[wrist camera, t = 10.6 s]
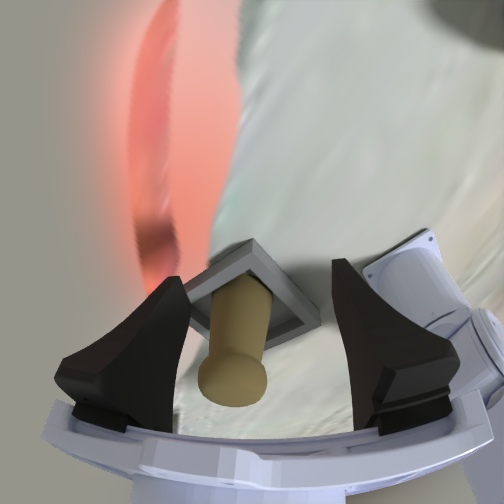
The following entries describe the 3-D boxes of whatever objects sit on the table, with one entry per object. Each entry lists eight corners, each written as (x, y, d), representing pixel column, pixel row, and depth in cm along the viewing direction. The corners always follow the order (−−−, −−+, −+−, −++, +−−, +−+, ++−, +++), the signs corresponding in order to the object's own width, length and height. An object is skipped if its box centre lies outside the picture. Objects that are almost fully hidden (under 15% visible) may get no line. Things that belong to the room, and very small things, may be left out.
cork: (224, 322, 29) (209, 415, 20) (201, 279, 26) (172, 381, 17) (280, 312, 28) (280, 412, 19) (264, 267, 25) (259, 376, 15)
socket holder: (319, 311, 28) (321, 325, 26) (239, 347, 32) (237, 361, 31) (253, 238, 24) (252, 251, 22) (170, 293, 28) (165, 306, 26)
